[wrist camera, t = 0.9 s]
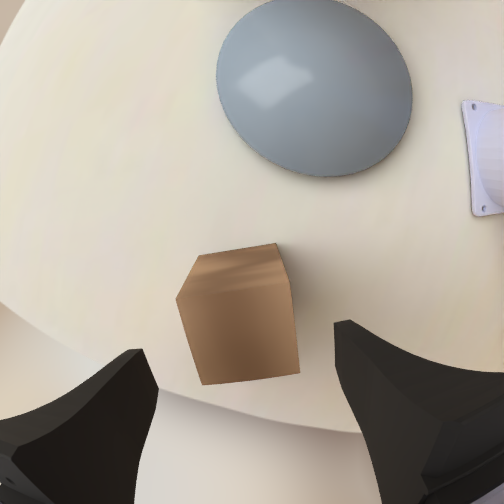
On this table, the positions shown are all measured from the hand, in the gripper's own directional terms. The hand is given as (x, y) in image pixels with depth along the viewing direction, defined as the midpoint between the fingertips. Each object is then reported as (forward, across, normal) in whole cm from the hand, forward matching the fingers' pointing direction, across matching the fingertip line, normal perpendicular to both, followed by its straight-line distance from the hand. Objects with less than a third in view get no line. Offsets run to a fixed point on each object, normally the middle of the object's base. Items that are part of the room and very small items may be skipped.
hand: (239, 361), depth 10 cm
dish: (+7, -6, -11) cm, 15 cm away
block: (+8, 0, 0) cm, 8 cm away
